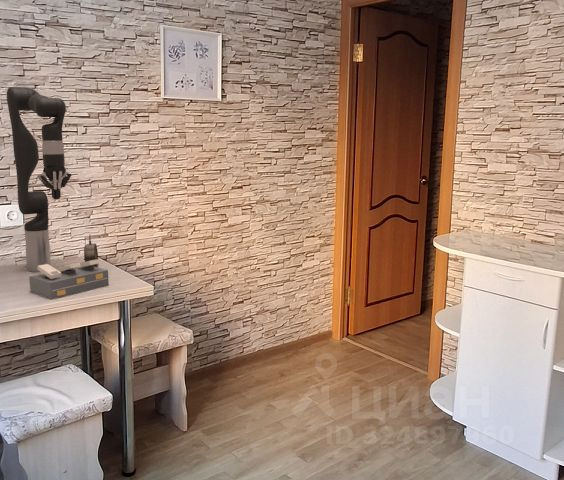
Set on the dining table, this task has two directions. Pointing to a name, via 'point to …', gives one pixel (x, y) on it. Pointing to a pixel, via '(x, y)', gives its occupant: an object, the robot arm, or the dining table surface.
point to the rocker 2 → (69, 267)
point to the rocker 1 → (49, 271)
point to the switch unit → (69, 282)
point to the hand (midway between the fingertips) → (56, 199)
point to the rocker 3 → (89, 263)
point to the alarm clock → (90, 252)
